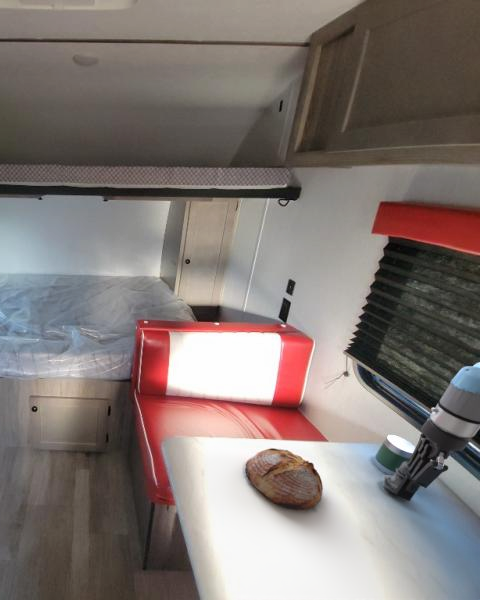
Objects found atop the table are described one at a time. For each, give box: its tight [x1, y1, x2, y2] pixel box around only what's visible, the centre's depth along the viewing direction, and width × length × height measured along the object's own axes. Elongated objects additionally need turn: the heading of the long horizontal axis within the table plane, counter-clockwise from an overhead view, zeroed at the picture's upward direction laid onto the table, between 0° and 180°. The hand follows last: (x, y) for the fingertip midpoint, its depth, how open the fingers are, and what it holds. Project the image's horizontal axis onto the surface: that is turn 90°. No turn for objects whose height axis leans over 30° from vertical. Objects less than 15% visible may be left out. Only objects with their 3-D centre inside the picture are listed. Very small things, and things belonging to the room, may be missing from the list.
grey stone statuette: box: [381, 461, 409, 500], centre depth 91 cm, size 6×6×12 cm
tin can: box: [372, 434, 416, 476], centre depth 100 cm, size 7×7×10 cm
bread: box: [244, 447, 324, 510], centre depth 90 cm, size 16×20×10 cm
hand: (402, 496), depth 88 cm, fingers closed
